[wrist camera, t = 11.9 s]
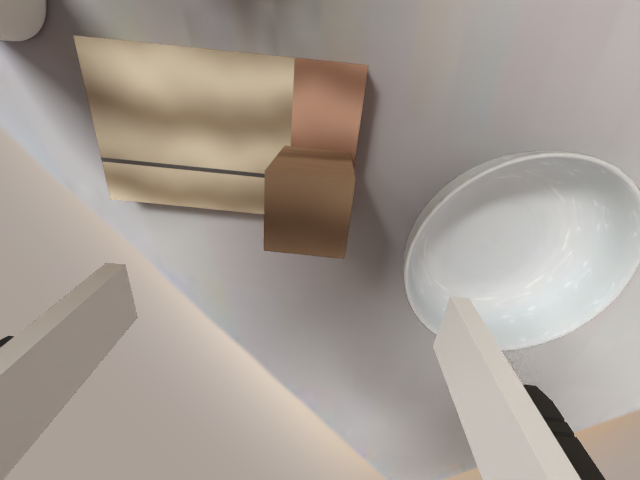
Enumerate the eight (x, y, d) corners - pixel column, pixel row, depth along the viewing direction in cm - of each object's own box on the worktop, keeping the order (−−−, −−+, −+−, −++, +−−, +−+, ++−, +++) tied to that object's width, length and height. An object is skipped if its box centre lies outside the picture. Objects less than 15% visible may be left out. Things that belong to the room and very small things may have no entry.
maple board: (94, 39, 27) (73, 35, 25) (365, 66, 27) (368, 65, 25) (125, 191, 34) (110, 199, 32) (345, 213, 34) (346, 222, 32)
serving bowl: (508, 330, 40) (539, 375, 34) (361, 276, 38) (366, 314, 31) (640, 187, 31) (715, 212, 25) (459, 101, 28) (494, 106, 22)
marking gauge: (287, 142, 30) (264, 170, 20) (349, 148, 30) (355, 179, 20) (284, 220, 34) (263, 275, 24) (339, 225, 34) (340, 283, 24)
